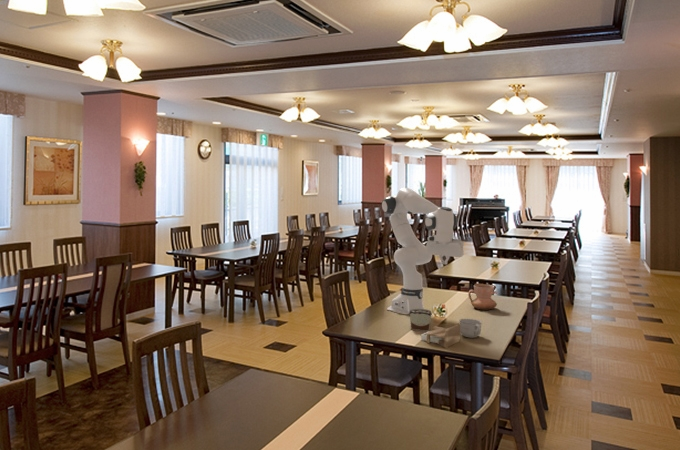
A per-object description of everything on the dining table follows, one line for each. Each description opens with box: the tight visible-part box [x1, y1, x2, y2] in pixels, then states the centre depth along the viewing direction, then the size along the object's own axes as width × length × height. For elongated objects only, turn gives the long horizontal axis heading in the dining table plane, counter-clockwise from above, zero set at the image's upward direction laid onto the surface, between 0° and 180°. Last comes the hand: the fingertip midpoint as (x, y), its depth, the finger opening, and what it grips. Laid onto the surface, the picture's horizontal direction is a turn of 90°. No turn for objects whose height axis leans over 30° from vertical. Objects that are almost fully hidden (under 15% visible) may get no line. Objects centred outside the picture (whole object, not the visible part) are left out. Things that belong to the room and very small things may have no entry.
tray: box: [420, 330, 445, 344], centre depth 249 cm, size 14×8×3 cm, turn 53°
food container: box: [408, 308, 433, 332], centre depth 269 cm, size 12×6×10 cm, turn 71°
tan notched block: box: [426, 323, 461, 348], centre depth 247 cm, size 14×14×8 cm
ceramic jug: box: [467, 284, 499, 311], centre depth 315 cm, size 18×14×14 cm
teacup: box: [459, 318, 483, 339], centre depth 255 cm, size 14×11×8 cm
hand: (444, 264), depth 270 cm, fingers closed
